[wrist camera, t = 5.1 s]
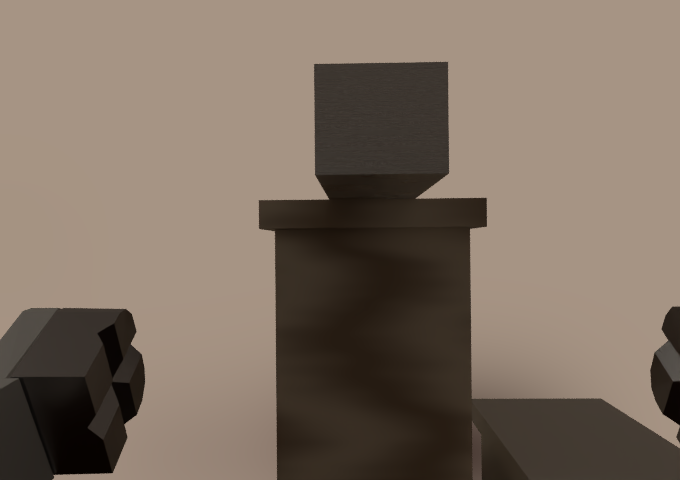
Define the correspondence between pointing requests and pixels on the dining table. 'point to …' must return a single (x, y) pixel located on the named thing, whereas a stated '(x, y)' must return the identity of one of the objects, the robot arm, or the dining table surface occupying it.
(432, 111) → the bar
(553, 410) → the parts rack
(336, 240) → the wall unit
